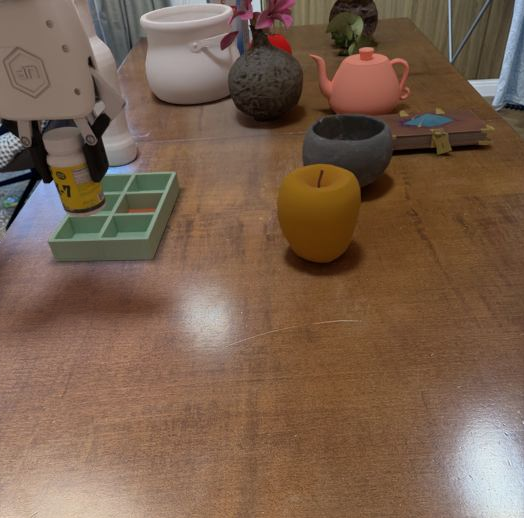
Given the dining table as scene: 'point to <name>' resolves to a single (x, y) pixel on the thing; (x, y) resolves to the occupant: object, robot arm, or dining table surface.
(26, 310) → the dining table surface
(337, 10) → the potted plant
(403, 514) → the dining table surface
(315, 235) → the apple
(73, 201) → the supplement bottle
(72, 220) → the tray
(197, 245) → the dining table surface
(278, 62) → the vase
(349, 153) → the bowl
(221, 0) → the milk carton
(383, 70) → the teapot
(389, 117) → the book
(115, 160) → the bottle
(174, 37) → the pot
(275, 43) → the tomato
